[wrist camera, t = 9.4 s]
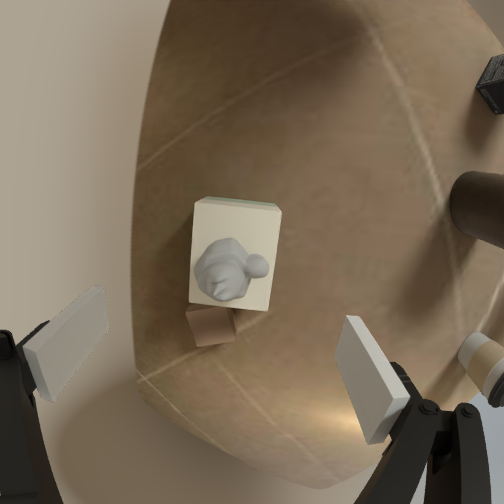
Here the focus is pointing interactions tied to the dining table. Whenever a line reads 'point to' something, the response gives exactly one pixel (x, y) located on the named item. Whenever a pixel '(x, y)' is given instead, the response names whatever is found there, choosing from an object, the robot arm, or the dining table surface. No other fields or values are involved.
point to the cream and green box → (246, 233)
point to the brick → (211, 324)
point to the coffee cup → (484, 366)
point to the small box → (493, 84)
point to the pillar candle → (479, 206)
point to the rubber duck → (228, 270)
